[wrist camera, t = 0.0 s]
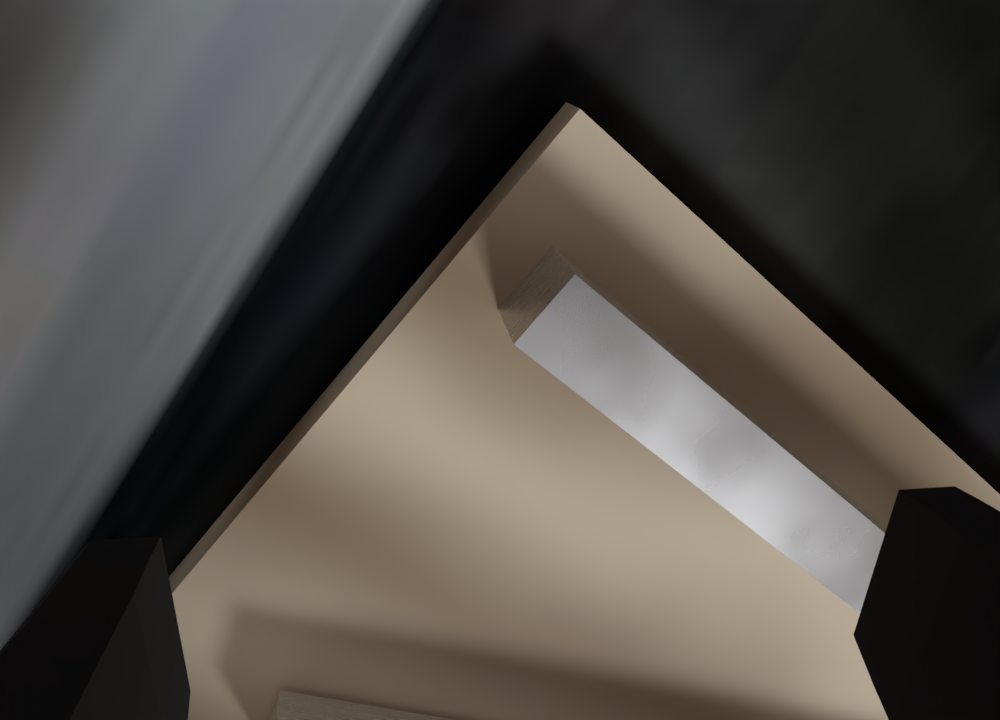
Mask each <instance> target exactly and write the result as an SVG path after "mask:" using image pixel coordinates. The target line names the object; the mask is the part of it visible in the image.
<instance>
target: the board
mask: <svg viewBox="0 0 1000 720" xmlns="http://www.w3.org/2000/svg"><path fill="white" fill-rule="evenodd" d="M552 246H553V247H554V248H556V249H557V250H558V251H559V252H560V253H562V254H563V255H564V256H565V257H566V258H567V259H569V260H570V261H571V262H572V263H573V264H575V265H576V266H577V267H578V268H579V269H581V270H582V271H583V272H584V273H585V274H587V275H588V276H589V277H590V278H591V279H592V280H594V281H595V282H596V283H597V284H598V285H600V286H601V287H602V288H603V289H604V290H606V291H607V292H608V293H609V294H610V295H612V296H613V297H614V298H615V299H616V300H617V301H619V302H620V303H621V304H622V305H623V306H625V307H626V308H627V309H628V310H629V311H631V312H632V313H633V314H634V315H635V316H637V317H638V318H639V319H640V320H641V321H642V322H644V323H645V324H646V325H647V326H648V327H650V328H651V329H652V330H653V331H654V332H656V333H657V334H658V335H659V336H660V337H662V338H663V339H664V340H665V341H666V342H667V343H669V344H670V345H671V346H672V347H673V348H675V349H676V350H677V351H678V352H679V353H681V354H682V355H683V356H684V357H685V358H687V359H688V360H689V361H690V362H691V363H692V364H694V365H695V366H696V367H697V368H698V369H700V370H701V371H702V372H703V373H704V374H706V375H707V376H708V377H709V378H710V379H712V380H713V381H714V382H715V383H716V384H717V385H719V386H720V387H721V388H722V389H723V390H725V391H726V392H727V393H728V394H729V395H731V396H732V397H733V398H734V399H735V400H736V401H738V402H739V403H740V404H741V405H742V406H744V407H745V408H746V409H747V410H748V411H750V412H751V413H752V414H753V415H754V416H756V417H757V418H758V419H759V420H760V421H761V422H763V423H764V424H765V425H766V426H767V427H769V428H770V429H771V430H772V431H773V432H775V433H776V434H777V435H778V436H779V437H781V438H782V439H783V440H784V441H785V442H786V443H788V444H789V445H790V446H791V447H792V448H794V449H795V450H796V451H797V452H798V453H800V454H801V455H802V456H803V457H804V458H806V459H807V460H808V461H809V462H810V463H811V464H813V465H814V466H815V467H816V468H817V469H819V470H820V471H821V472H822V473H823V474H825V475H826V476H827V477H828V478H829V479H831V480H832V481H833V482H834V483H835V484H836V485H838V486H839V487H840V488H841V489H842V490H844V491H845V492H846V493H847V494H848V495H850V496H851V497H852V498H853V499H854V500H856V501H857V502H858V503H859V504H860V505H861V506H863V507H864V508H865V509H866V510H867V511H869V512H870V513H871V514H872V515H873V516H875V517H876V518H877V519H878V520H879V521H881V522H882V523H883V524H884V525H885V526H886V527H887V526H888V523H889V519H890V516H891V513H892V510H893V507H894V503H895V500H896V497H897V494H898V491H899V490H903V489H919V488H935V487H951V486H955V487H957V488H959V489H961V490H963V491H964V492H966V493H968V494H970V495H972V496H974V497H976V498H977V499H979V500H981V501H983V502H984V503H986V504H988V505H990V506H991V507H993V508H995V509H997V510H998V511H1000V494H999V493H998V492H997V491H996V490H994V489H993V488H992V487H991V486H990V485H989V484H988V483H987V482H986V481H985V480H984V479H983V478H981V477H980V476H979V475H978V474H977V473H976V472H975V471H974V470H973V469H972V468H971V467H969V466H968V465H967V464H966V463H965V462H964V461H963V460H962V459H961V458H960V457H959V456H957V455H956V454H955V453H954V452H953V451H952V450H951V449H950V448H949V447H948V446H947V445H946V444H944V443H943V442H942V441H941V440H940V439H939V438H938V437H937V436H936V435H935V434H934V433H932V432H931V431H930V430H929V429H928V428H927V427H926V426H925V425H924V424H923V423H922V422H920V421H919V420H918V419H917V418H916V417H915V416H914V415H913V414H912V413H911V412H910V411H909V410H907V409H906V408H905V407H904V406H903V405H902V404H901V403H900V402H899V401H898V400H897V399H895V398H894V397H893V396H892V395H891V394H890V393H889V392H888V391H887V390H886V389H885V388H883V387H882V386H881V385H880V384H879V383H878V382H877V381H876V380H875V379H874V378H873V377H872V376H870V375H869V374H868V373H867V372H866V371H865V370H864V369H863V368H862V367H861V366H860V365H858V364H857V363H856V362H855V361H854V360H853V359H852V358H851V357H850V356H849V355H848V354H846V353H845V352H844V351H843V350H842V349H841V348H840V347H839V346H838V345H837V344H836V343H835V342H833V341H832V340H831V339H830V338H829V337H828V336H827V335H826V334H825V333H824V332H823V331H821V330H820V329H819V328H818V327H817V326H816V325H815V324H814V323H813V322H812V321H811V320H809V319H808V318H807V317H806V316H805V315H804V314H803V313H802V312H801V311H800V310H799V309H798V308H796V307H795V306H794V305H793V304H792V303H791V302H790V301H789V300H788V299H787V298H786V297H784V296H783V295H782V294H781V293H780V292H779V291H778V290H777V289H776V288H775V287H774V286H772V285H771V284H770V283H769V282H768V281H767V280H766V279H765V278H764V277H763V276H762V275H761V274H759V273H758V272H757V271H756V270H755V269H754V268H753V267H752V266H751V265H750V264H749V263H747V262H746V261H745V260H744V259H743V258H742V257H741V256H740V255H739V254H738V253H737V252H735V251H734V250H733V249H732V248H731V247H730V246H729V245H728V244H727V243H726V242H725V241H724V240H722V239H721V238H720V237H719V236H718V235H717V234H716V233H715V232H714V231H713V230H712V229H710V228H709V227H708V226H707V225H706V224H705V223H704V222H703V221H702V220H701V219H700V218H698V217H697V216H696V215H695V214H694V213H693V212H692V211H691V210H690V209H689V208H688V207H687V206H685V205H684V204H683V203H682V202H681V201H680V200H679V199H678V198H677V197H676V196H675V195H673V194H672V193H671V192H670V191H669V190H668V189H667V188H666V187H665V186H664V185H663V184H662V183H660V182H659V181H658V180H657V179H656V178H655V177H654V176H653V175H652V174H651V173H650V172H648V171H647V170H646V169H645V168H644V167H643V166H642V165H641V164H640V163H639V162H638V161H636V160H635V159H634V158H633V157H632V156H631V155H630V154H629V153H628V152H627V151H626V150H625V149H623V148H622V147H621V146H620V145H619V144H618V143H617V142H616V141H615V140H614V139H613V138H611V137H610V136H609V135H608V134H607V133H606V132H605V131H604V130H603V129H602V128H601V127H599V126H598V125H597V124H596V123H595V122H594V121H593V120H592V119H591V118H590V117H589V116H588V115H586V114H585V113H584V112H583V111H582V110H581V109H580V108H578V107H576V106H574V105H572V104H569V103H567V102H566V103H565V104H564V105H563V106H562V108H561V109H560V110H559V111H558V112H557V114H556V115H555V116H554V117H553V118H552V120H551V121H550V122H549V123H548V124H547V126H546V127H545V128H544V129H543V130H542V132H541V133H540V134H539V135H538V136H537V138H536V139H535V140H534V141H533V142H532V144H531V145H530V146H529V147H528V148H527V150H526V151H525V152H524V153H523V154H522V155H521V157H520V158H519V159H518V160H517V161H516V163H515V164H514V165H513V166H512V167H511V169H510V170H509V171H508V172H507V173H506V175H505V176H504V177H503V178H502V179H501V181H500V182H499V183H498V184H497V185H496V187H495V188H494V189H493V190H492V191H491V193H490V194H489V195H488V196H487V197H486V199H485V200H484V201H483V202H482V203H481V205H480V206H479V207H478V208H477V209H476V210H475V212H474V213H473V214H472V215H471V216H470V218H469V219H468V220H467V221H466V222H465V224H464V225H463V226H462V227H461V228H460V230H459V231H458V232H457V233H456V234H455V236H454V237H453V238H452V239H451V240H450V242H449V243H448V244H447V245H446V246H445V248H444V249H443V250H442V251H441V252H440V254H439V255H438V256H437V257H436V258H435V260H434V261H433V262H432V263H431V264H430V265H429V267H428V268H427V269H426V270H425V271H424V273H423V274H422V275H421V276H420V277H419V279H418V280H417V281H416V282H415V283H414V285H413V286H412V287H411V288H410V289H409V291H408V292H407V293H406V294H405V295H404V297H403V298H402V299H401V300H400V301H399V303H398V304H397V305H396V306H395V307H394V309H393V310H392V311H391V312H390V313H389V315H388V316H387V317H386V318H385V319H384V320H383V322H382V323H381V324H380V325H379V326H378V328H377V329H376V330H375V331H374V332H373V334H372V335H371V336H370V337H369V338H368V340H367V341H366V342H365V343H364V344H363V346H362V347H361V348H360V349H359V350H358V352H357V353H356V354H355V355H354V356H353V358H352V359H351V360H350V361H349V362H348V364H347V365H346V366H345V367H344V368H343V370H342V371H341V372H340V373H339V374H338V375H337V377H336V378H335V379H334V380H333V381H332V383H331V384H330V385H329V386H328V387H327V389H326V390H325V391H324V392H323V393H322V395H321V396H320V397H319V398H318V399H317V401H316V402H315V403H314V404H313V405H312V407H311V408H310V409H309V410H308V411H307V413H306V414H305V415H304V416H303V417H302V419H301V420H300V421H299V422H298V423H297V424H296V426H295V427H294V428H293V429H292V430H291V432H290V433H289V434H288V435H287V436H286V438H285V439H284V440H283V441H282V442H281V444H280V445H279V446H278V447H277V448H276V450H275V451H274V452H273V453H272V454H271V456H270V457H269V458H268V459H267V460H266V462H265V463H264V464H263V465H262V466H261V468H260V469H259V470H258V471H257V472H256V474H255V475H254V476H253V477H252V478H251V479H250V481H249V482H248V483H247V484H246V485H245V487H244V488H243V489H242V490H241V491H240V493H239V494H238V495H237V496H236V497H235V499H234V500H233V501H232V502H231V503H230V505H229V506H228V507H227V508H226V509H225V511H224V512H223V513H222V514H221V515H220V517H219V518H218V519H217V520H216V521H215V523H214V524H213V525H212V526H211V527H210V529H209V530H208V531H207V532H206V533H205V534H204V536H203V537H202V538H201V539H200V540H199V542H198V543H197V544H196V545H195V546H194V548H193V549H192V550H191V551H190V552H189V554H188V555H187V556H186V557H185V558H184V560H183V561H182V562H181V563H180V564H179V566H178V567H177V568H176V569H175V570H174V572H173V573H172V574H171V575H170V576H169V581H170V586H171V591H172V596H173V602H174V607H175V612H176V617H177V623H178V628H179V633H180V638H181V643H182V649H183V654H184V659H185V664H186V670H187V675H188V680H189V685H190V690H191V692H190V702H189V712H188V720H270V719H271V716H272V713H273V709H274V706H275V703H276V700H277V697H278V694H279V690H283V691H289V692H295V693H301V694H307V695H313V696H318V697H324V698H330V699H336V700H342V701H348V702H353V703H359V704H365V705H371V706H377V707H383V708H388V709H394V710H400V711H406V712H412V713H418V714H423V715H429V716H435V717H441V718H447V719H453V720H889V719H888V717H887V715H886V713H885V710H884V708H883V706H882V703H881V701H880V699H879V697H878V694H877V692H876V690H875V688H874V685H873V683H872V680H871V678H870V675H869V673H868V670H867V668H866V665H865V663H864V660H863V658H862V655H861V653H860V650H859V648H858V645H857V643H856V640H855V638H854V631H855V628H856V625H857V622H858V619H859V615H860V613H858V612H857V611H856V610H855V609H853V608H852V607H851V606H849V605H848V604H847V603H846V602H844V601H843V600H842V599H840V598H839V597H838V596H837V595H835V594H834V593H833V592H832V591H830V590H829V589H828V588H826V587H825V586H824V585H823V584H821V583H820V582H819V581H817V580H816V579H815V578H814V577H812V576H811V575H810V574H808V573H807V572H806V571H805V570H803V569H802V568H801V567H799V566H798V565H797V564H796V563H794V562H793V561H792V560H790V559H789V558H788V557H787V556H785V555H784V554H783V553H781V552H780V551H779V550H778V549H776V548H775V547H774V546H772V545H771V544H770V543H769V542H767V541H766V540H765V539H763V538H762V537H761V536H760V535H758V534H757V533H756V532H754V531H753V530H752V529H751V528H749V527H748V526H747V525H745V524H744V523H743V522H742V521H740V520H739V519H738V518H736V517H735V516H734V515H733V514H731V513H730V512H729V511H727V510H726V509H725V508H724V507H722V506H721V505H720V504H718V503H717V502H716V501H715V500H713V499H712V498H711V497H709V496H708V495H707V494H706V493H704V492H703V491H702V490H700V489H699V488H698V487H697V486H695V485H694V484H693V483H691V482H690V481H689V480H688V479H686V478H685V477H684V476H682V475H681V474H680V473H679V472H677V471H676V470H675V469H673V468H672V467H671V466H670V465H668V464H667V463H666V462H664V461H663V460H662V459H661V458H659V457H658V456H657V455H655V454H654V453H653V452H652V451H650V450H649V449H648V448H646V447H645V446H644V445H643V444H641V443H640V442H639V441H637V440H636V439H635V438H634V437H632V436H631V435H630V434H628V433H627V432H626V431H625V430H623V429H622V428H621V427H619V426H618V425H617V424H616V423H614V422H613V421H612V420H610V419H609V418H608V417H607V416H605V415H604V414H603V413H601V412H600V411H599V410H598V409H596V408H595V407H594V406H592V405H591V404H590V403H589V402H587V401H586V400H585V399H583V398H582V397H581V396H580V395H578V394H577V393H576V392H574V391H573V390H572V389H571V388H569V387H568V386H567V385H565V384H564V383H563V382H562V381H560V380H559V379H558V378H556V377H555V376H554V375H553V374H551V373H550V372H549V371H547V370H546V369H545V368H544V367H542V366H541V365H540V364H538V363H537V362H536V361H535V360H533V359H532V358H531V357H529V356H528V355H527V354H526V353H524V352H523V351H522V350H520V349H519V348H518V347H517V346H515V345H514V344H513V342H512V339H511V337H510V335H509V333H508V331H507V329H506V326H505V324H504V322H503V320H502V318H501V315H500V313H499V311H498V308H499V307H500V306H501V305H502V304H503V302H504V301H505V300H506V299H507V298H508V297H509V295H510V294H511V293H512V292H513V291H514V290H515V288H516V287H517V286H518V285H519V284H520V283H521V282H522V280H523V279H524V278H525V277H526V276H527V275H528V273H529V272H530V271H531V270H532V269H533V268H534V266H535V265H536V264H537V263H538V262H539V261H540V260H541V258H542V257H543V256H544V255H545V254H546V253H547V251H548V250H549V249H550V248H551V247H552Z"/></svg>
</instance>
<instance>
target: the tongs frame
mask: <svg viewBox="0 0 1000 720" xmlns="http://www.w3.org/2000/svg"><path fill="white" fill-rule="evenodd" d="M498 311H499V313H500V315H501V318H502V320H503V322H504V324H505V326H506V329H507V331H508V333H509V335H510V337H511V339H512V342H513V344H514V345H515V346H517V347H518V348H519V349H520V350H522V351H523V352H524V353H526V354H527V355H528V356H529V357H531V358H532V359H533V360H535V361H536V362H537V363H538V364H540V365H541V366H542V367H544V368H545V369H546V370H547V371H549V372H550V373H551V374H553V375H554V376H555V377H556V378H558V379H559V380H560V381H562V382H563V383H564V384H565V385H567V386H568V387H569V388H571V389H572V390H573V391H574V392H576V393H577V394H578V395H580V396H581V397H582V398H583V399H585V400H586V401H587V402H589V403H590V404H591V405H592V406H594V407H595V408H596V409H598V410H599V411H600V412H601V413H603V414H604V415H605V416H607V417H608V418H609V419H610V420H612V421H613V422H614V423H616V424H617V425H618V426H619V427H621V428H622V429H623V430H625V431H626V432H627V433H628V434H630V435H631V436H632V437H634V438H635V439H636V440H637V441H639V442H640V443H641V444H643V445H644V446H645V447H646V448H648V449H649V450H650V451H652V452H653V453H654V454H655V455H657V456H658V457H659V458H661V459H662V460H663V461H664V462H666V463H667V464H668V465H670V466H671V467H672V468H673V469H675V470H676V471H677V472H679V473H680V474H681V475H682V476H684V477H685V478H686V479H688V480H689V481H690V482H691V483H693V484H694V485H695V486H697V487H698V488H699V489H700V490H702V491H703V492H704V493H706V494H707V495H708V496H709V497H711V498H712V499H713V500H715V501H716V502H717V503H718V504H720V505H721V506H722V507H724V508H725V509H726V510H727V511H729V512H730V513H731V514H733V515H734V516H735V517H736V518H738V519H739V520H740V521H742V522H743V523H744V524H745V525H747V526H748V527H749V528H751V529H752V530H753V531H754V532H756V533H757V534H758V535H760V536H761V537H762V538H763V539H765V540H766V541H767V542H769V543H770V544H771V545H772V546H774V547H775V548H776V549H778V550H779V551H780V552H781V553H783V554H784V555H785V556H787V557H788V558H789V559H790V560H792V561H793V562H794V563H796V564H797V565H798V566H799V567H801V568H802V569H803V570H805V571H806V572H807V573H808V574H810V575H811V576H812V577H814V578H815V579H816V580H817V581H819V582H820V583H821V584H823V585H824V586H825V587H826V588H828V589H829V590H830V591H832V592H833V593H834V594H835V595H837V596H838V597H839V598H840V599H842V600H843V601H844V602H846V603H847V604H848V605H849V606H851V607H852V608H853V609H855V610H856V611H857V612H858V613H860V612H861V609H862V606H863V603H864V599H865V596H866V593H867V590H868V587H869V583H870V580H871V577H872V574H873V571H874V567H875V564H876V561H877V558H878V555H879V551H880V548H881V545H882V542H883V539H884V535H885V532H886V529H887V527H886V526H885V525H884V524H883V523H882V522H881V521H879V520H878V519H877V518H876V517H875V516H873V515H872V514H871V513H870V512H869V511H867V510H866V509H865V508H864V507H863V506H861V505H860V504H859V503H858V502H857V501H856V500H854V499H853V498H852V497H851V496H850V495H848V494H847V493H846V492H845V491H844V490H842V489H841V488H840V487H839V486H838V485H836V484H835V483H834V482H833V481H832V480H831V479H829V478H828V477H827V476H826V475H825V474H823V473H822V472H821V471H820V470H819V469H817V468H816V467H815V466H814V465H813V464H811V463H810V462H809V461H808V460H807V459H806V458H804V457H803V456H802V455H801V454H800V453H798V452H797V451H796V450H795V449H794V448H792V447H791V446H790V445H789V444H788V443H786V442H785V441H784V440H783V439H782V438H781V437H779V436H778V435H777V434H776V433H775V432H773V431H772V430H771V429H770V428H769V427H767V426H766V425H765V424H764V423H763V422H761V421H760V420H759V419H758V418H757V417H756V416H754V415H753V414H752V413H751V412H750V411H748V410H747V409H746V408H745V407H744V406H742V405H741V404H740V403H739V402H738V401H736V400H735V399H734V398H733V397H732V396H731V395H729V394H728V393H727V392H726V391H725V390H723V389H722V388H721V387H720V386H719V385H717V384H716V383H715V382H714V381H713V380H712V379H710V378H709V377H708V376H707V375H706V374H704V373H703V372H702V371H701V370H700V369H698V368H697V367H696V366H695V365H694V364H692V363H691V362H690V361H689V360H688V359H687V358H685V357H684V356H683V355H682V354H681V353H679V352H678V351H677V350H676V349H675V348H673V347H672V346H671V345H670V344H669V343H667V342H666V341H665V340H664V339H663V338H662V337H660V336H659V335H658V334H657V333H656V332H654V331H653V330H652V329H651V328H650V327H648V326H647V325H646V324H645V323H644V322H642V321H641V320H640V319H639V318H638V317H637V316H635V315H634V314H633V313H632V312H631V311H629V310H628V309H627V308H626V307H625V306H623V305H622V304H621V303H620V302H619V301H617V300H616V299H615V298H614V297H613V296H612V295H610V294H609V293H608V292H607V291H606V290H604V289H603V288H602V287H601V286H600V285H598V284H597V283H596V282H595V281H594V280H592V279H591V278H590V277H589V276H588V275H587V274H585V273H584V272H583V271H582V270H581V269H579V268H578V267H577V266H576V265H575V264H573V263H572V262H571V261H570V260H569V259H567V258H566V257H565V256H564V255H563V254H562V253H560V252H559V251H558V250H557V249H556V248H554V247H553V246H552V247H551V248H550V249H549V250H548V251H547V253H546V254H545V255H544V256H543V257H542V258H541V260H540V261H539V262H538V263H537V264H536V265H535V266H534V268H533V269H532V270H531V271H530V272H529V273H528V275H527V276H526V277H525V278H524V279H523V280H522V282H521V283H520V284H519V285H518V286H517V287H516V288H515V290H514V291H513V292H512V293H511V294H510V295H509V297H508V298H507V299H506V300H505V301H504V302H503V304H502V305H501V306H500V307H499V308H498Z"/></svg>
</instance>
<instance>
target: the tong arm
mask: <svg viewBox="0 0 1000 720" xmlns="http://www.w3.org/2000/svg"><path fill="white" fill-rule="evenodd" d="M270 720H453V719H447V718H441V717H435V716H429V715H423V714H418V713H412V712H406V711H400V710H394V709H388V708H383V707H377V706H371V705H365V704H359V703H353V702H348V701H342V700H336V699H330V698H324V697H318V696H313V695H307V694H301V693H295V692H289V691H283V690H279V694H278V697H277V700H276V703H275V706H274V709H273V713H272V716H271V719H270Z"/></svg>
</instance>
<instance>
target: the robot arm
mask: <svg viewBox="0 0 1000 720" xmlns="http://www.w3.org/2000/svg"><path fill="white" fill-rule="evenodd" d="M854 638H855V640H856V643H857V645H858V648H859V650H860V653H861V655H862V658H863V660H864V663H865V665H866V668H867V670H868V673H869V675H870V678H871V680H872V683H873V685H874V688H875V690H876V692H877V694H878V697H879V699H880V701H881V703H882V706H883V708H884V710H885V713H886V715H887V717H888V719H889V720H1000V511H998V510H997V509H995V508H993V507H991V506H990V505H988V504H986V503H984V502H983V501H981V500H979V499H977V498H976V497H974V496H972V495H970V494H968V493H966V492H964V491H963V490H961V489H959V488H957V487H955V486H951V487H935V488H919V489H903V490H899V491H898V494H897V497H896V500H895V503H894V507H893V510H892V513H891V516H890V519H889V523H888V526H887V529H886V532H885V535H884V539H883V542H882V545H881V548H880V551H879V555H878V558H877V561H876V564H875V567H874V571H873V574H872V577H871V580H870V583H869V587H868V590H867V593H866V596H865V599H864V603H863V606H862V609H861V612H860V615H859V619H858V622H857V625H856V628H855V631H854ZM190 692H191V690H190V685H189V680H188V675H187V670H186V664H185V659H184V654H183V649H182V643H181V638H180V633H179V628H178V623H177V617H176V612H175V607H174V602H173V596H172V591H171V586H170V581H169V576H168V570H167V565H166V560H165V555H164V549H163V544H162V539H161V536H154V537H138V538H122V539H106V540H91V541H90V542H89V543H88V544H87V545H86V546H85V547H84V548H83V549H82V550H81V551H80V552H79V553H78V555H77V556H76V557H75V558H74V560H73V561H72V562H71V563H70V565H69V566H68V567H67V568H66V570H65V571H64V572H63V573H62V575H61V576H60V577H59V578H58V580H57V581H56V582H55V584H54V585H53V586H52V587H51V589H50V590H49V591H48V592H47V594H46V595H45V596H44V597H43V599H42V600H41V601H40V602H39V604H38V605H37V606H36V607H35V609H34V610H33V611H32V613H31V614H30V615H29V616H28V617H27V619H26V620H25V621H24V622H23V624H22V625H21V626H20V627H19V629H18V630H17V631H16V632H15V634H14V635H13V636H12V637H11V638H10V640H9V641H8V642H7V643H6V645H5V646H4V647H3V648H2V650H1V651H0V720H188V712H189V702H190Z"/></svg>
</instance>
